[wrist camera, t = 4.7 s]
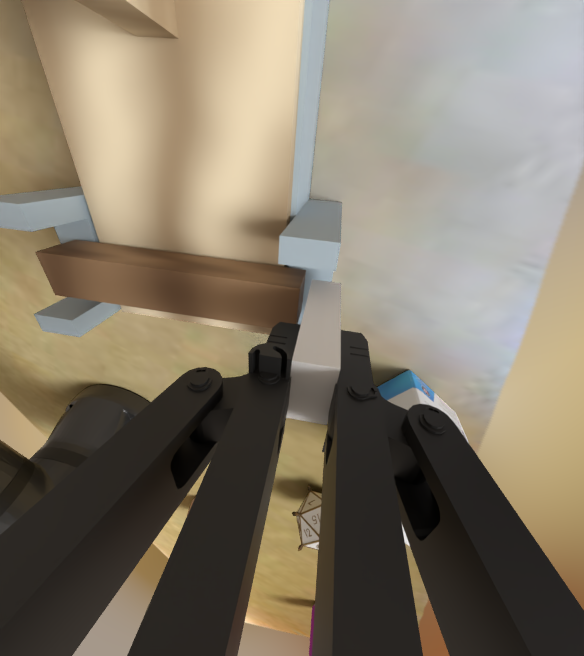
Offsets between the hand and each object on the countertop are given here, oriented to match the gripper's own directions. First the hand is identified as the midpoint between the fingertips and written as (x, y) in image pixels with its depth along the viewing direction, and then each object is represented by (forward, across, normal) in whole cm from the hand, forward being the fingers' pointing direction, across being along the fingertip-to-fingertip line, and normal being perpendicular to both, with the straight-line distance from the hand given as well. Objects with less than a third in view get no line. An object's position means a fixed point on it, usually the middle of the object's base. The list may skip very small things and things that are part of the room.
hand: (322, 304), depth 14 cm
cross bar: (+1, -8, 0) cm, 8 cm away
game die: (+10, +5, -40) cm, 41 cm away
